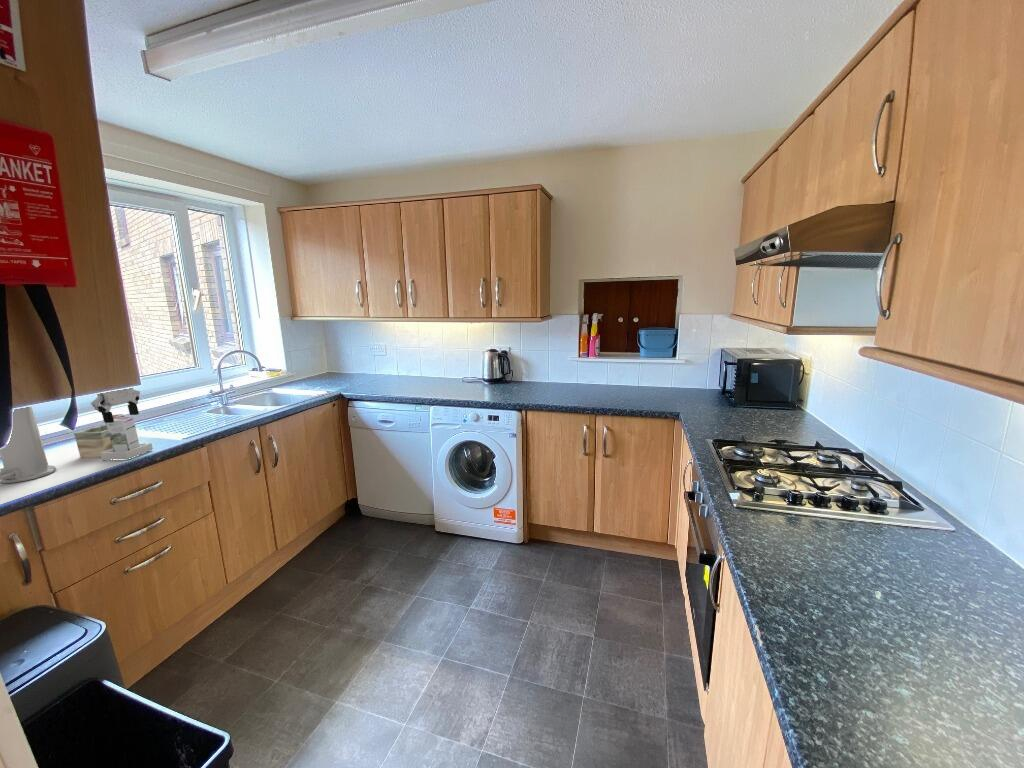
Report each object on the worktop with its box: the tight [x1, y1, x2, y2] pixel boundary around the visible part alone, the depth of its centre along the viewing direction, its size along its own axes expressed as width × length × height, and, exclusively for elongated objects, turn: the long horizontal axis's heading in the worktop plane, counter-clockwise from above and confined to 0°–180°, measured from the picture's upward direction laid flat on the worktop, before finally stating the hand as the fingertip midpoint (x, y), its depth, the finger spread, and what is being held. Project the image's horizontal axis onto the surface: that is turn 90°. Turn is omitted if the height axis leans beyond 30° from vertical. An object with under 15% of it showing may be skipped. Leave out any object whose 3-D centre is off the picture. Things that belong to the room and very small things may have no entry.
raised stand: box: [73, 424, 113, 458], centre depth 163 cm, size 10×10×10 cm
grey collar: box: [100, 442, 154, 461], centre depth 159 cm, size 10×10×3 cm
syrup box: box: [105, 416, 140, 452], centre depth 158 cm, size 6×6×14 cm
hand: (122, 418), depth 157 cm, fingers open, 9 cm apart
